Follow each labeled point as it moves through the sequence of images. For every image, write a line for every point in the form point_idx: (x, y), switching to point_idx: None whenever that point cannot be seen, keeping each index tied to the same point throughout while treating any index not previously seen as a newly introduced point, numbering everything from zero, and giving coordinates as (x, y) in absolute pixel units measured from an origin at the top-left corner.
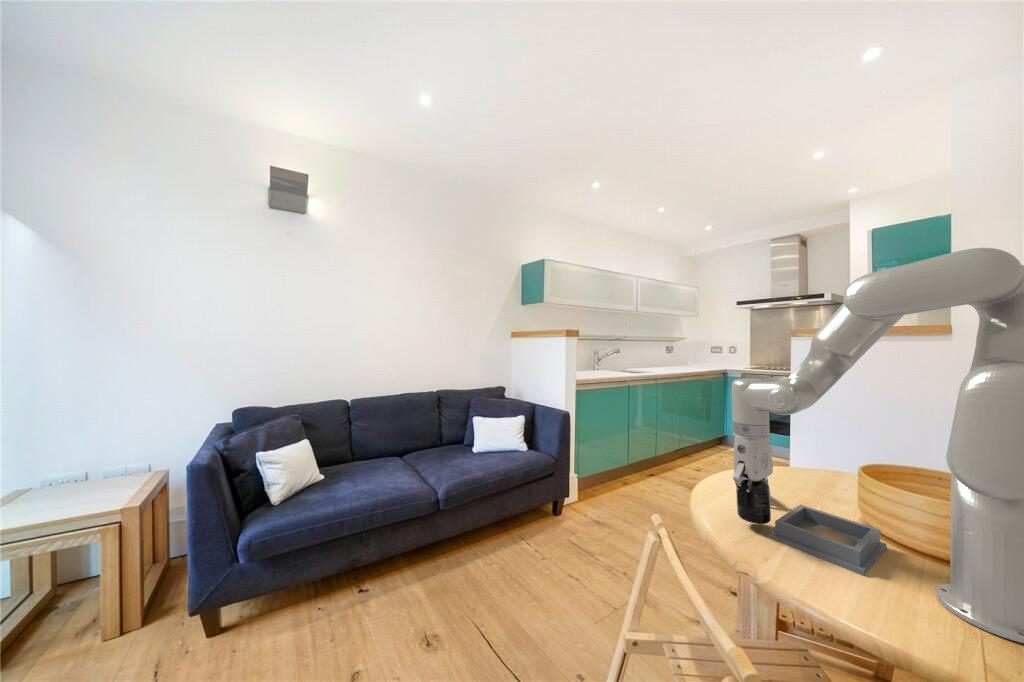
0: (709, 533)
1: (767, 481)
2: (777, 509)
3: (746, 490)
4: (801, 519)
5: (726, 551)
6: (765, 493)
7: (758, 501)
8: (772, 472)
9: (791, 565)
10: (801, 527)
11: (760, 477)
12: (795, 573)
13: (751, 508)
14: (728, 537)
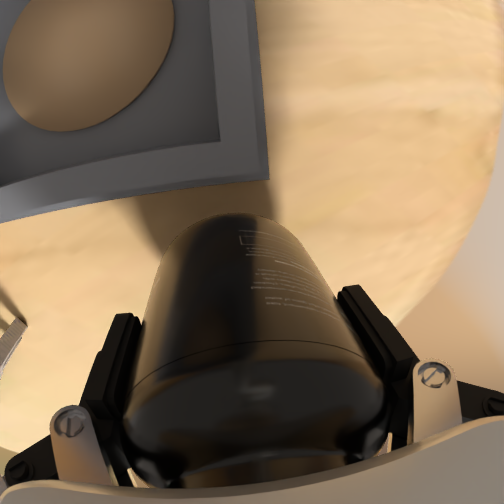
0: (412, 302)
1: (58, 419)
2: (4, 296)
3: (447, 378)
4: (12, 181)
5: (469, 214)
6: (294, 319)
7: (333, 298)
8: (16, 491)
9: (397, 47)
10: (65, 144)
11: (442, 475)
12: (426, 32)
13: (358, 288)
14: (395, 260)
